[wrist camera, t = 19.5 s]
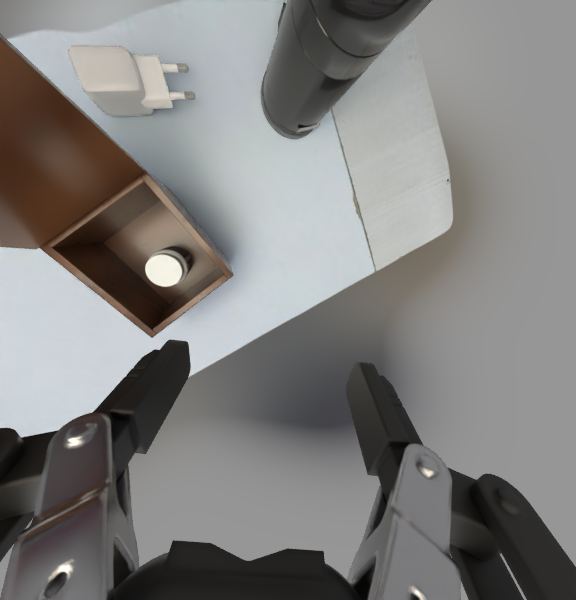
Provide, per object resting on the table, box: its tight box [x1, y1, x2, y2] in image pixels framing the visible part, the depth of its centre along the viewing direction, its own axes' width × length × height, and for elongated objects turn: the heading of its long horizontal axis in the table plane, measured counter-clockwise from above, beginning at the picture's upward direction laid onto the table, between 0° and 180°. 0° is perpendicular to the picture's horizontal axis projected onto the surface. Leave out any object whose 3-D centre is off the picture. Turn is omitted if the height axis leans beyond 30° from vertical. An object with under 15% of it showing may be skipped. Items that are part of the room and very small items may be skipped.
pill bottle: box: [145, 246, 193, 287], centre depth 29 cm, size 5×5×8 cm
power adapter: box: [68, 45, 195, 117], centre depth 25 cm, size 11×5×6 cm, turn 99°
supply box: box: [39, 169, 233, 338], centre depth 28 cm, size 14×13×11 cm
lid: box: [0, 33, 145, 249], centre depth 13 cm, size 14×13×1 cm
